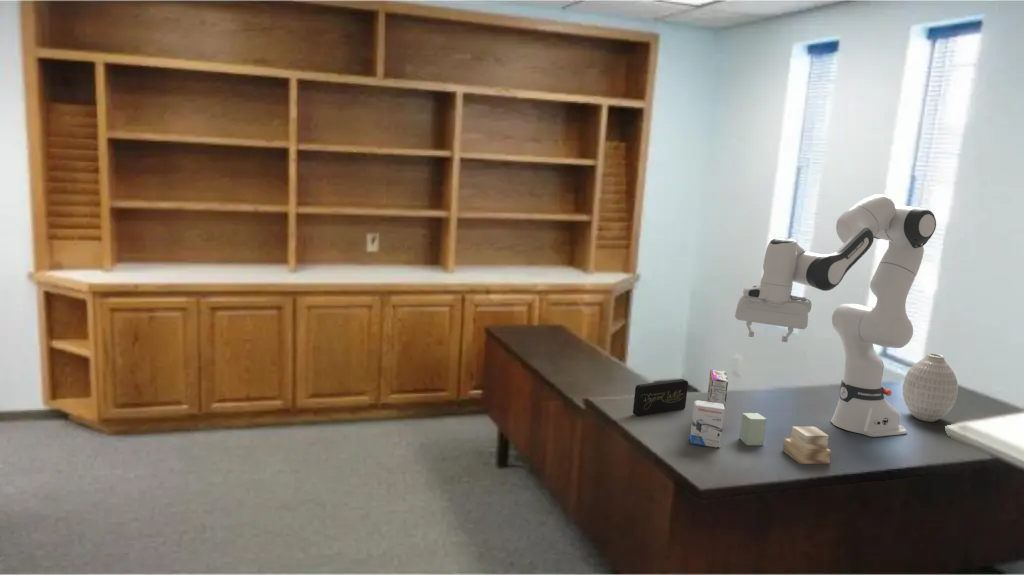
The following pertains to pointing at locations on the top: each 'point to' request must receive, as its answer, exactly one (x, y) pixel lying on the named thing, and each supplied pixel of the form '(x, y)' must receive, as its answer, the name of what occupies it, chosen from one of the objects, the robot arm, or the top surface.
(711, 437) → the ink box
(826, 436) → the maple block
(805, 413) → the top surface
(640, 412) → the nameplate
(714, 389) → the candy bar box
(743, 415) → the sage block
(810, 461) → the oak block
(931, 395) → the vase
